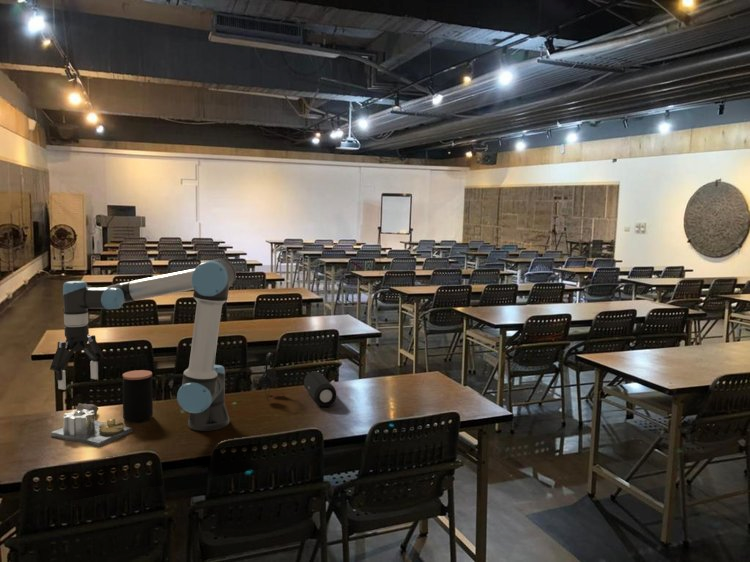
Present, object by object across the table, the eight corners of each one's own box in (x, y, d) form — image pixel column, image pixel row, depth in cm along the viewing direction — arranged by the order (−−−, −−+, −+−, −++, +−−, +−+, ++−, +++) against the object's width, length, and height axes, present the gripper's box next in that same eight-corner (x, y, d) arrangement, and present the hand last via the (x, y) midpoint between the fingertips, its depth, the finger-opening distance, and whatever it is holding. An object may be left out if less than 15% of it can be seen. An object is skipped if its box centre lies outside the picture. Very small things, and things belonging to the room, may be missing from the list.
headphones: (282, 403, 242) (283, 358, 239) (256, 402, 242) (257, 357, 239) (288, 392, 256) (289, 350, 254) (264, 391, 257) (264, 349, 254)
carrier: (131, 431, 204) (131, 409, 203) (98, 446, 190) (98, 422, 189) (86, 422, 212) (85, 400, 211) (51, 436, 198) (50, 413, 197)
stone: (100, 420, 215) (99, 405, 214) (76, 423, 211) (76, 408, 210) (98, 412, 224) (97, 398, 223) (75, 415, 219) (74, 400, 219)
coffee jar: (158, 416, 221) (158, 372, 219) (139, 425, 211) (138, 378, 209) (137, 412, 224) (136, 368, 222) (116, 421, 214) (116, 375, 212)
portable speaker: (302, 391, 259) (302, 370, 258) (323, 389, 263) (323, 369, 262) (315, 409, 236) (315, 386, 235) (337, 407, 239) (338, 384, 238)
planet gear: (100, 427, 203) (100, 411, 203) (77, 437, 194) (77, 420, 193) (80, 423, 207) (80, 407, 206) (57, 432, 197) (56, 416, 197)
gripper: (97, 318, 209) (99, 373, 211) (36, 330, 186) (39, 392, 188) (112, 320, 206) (114, 375, 209) (52, 332, 183) (55, 394, 185)
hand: (78, 383), depth 198 cm, fingers open, 13 cm apart
